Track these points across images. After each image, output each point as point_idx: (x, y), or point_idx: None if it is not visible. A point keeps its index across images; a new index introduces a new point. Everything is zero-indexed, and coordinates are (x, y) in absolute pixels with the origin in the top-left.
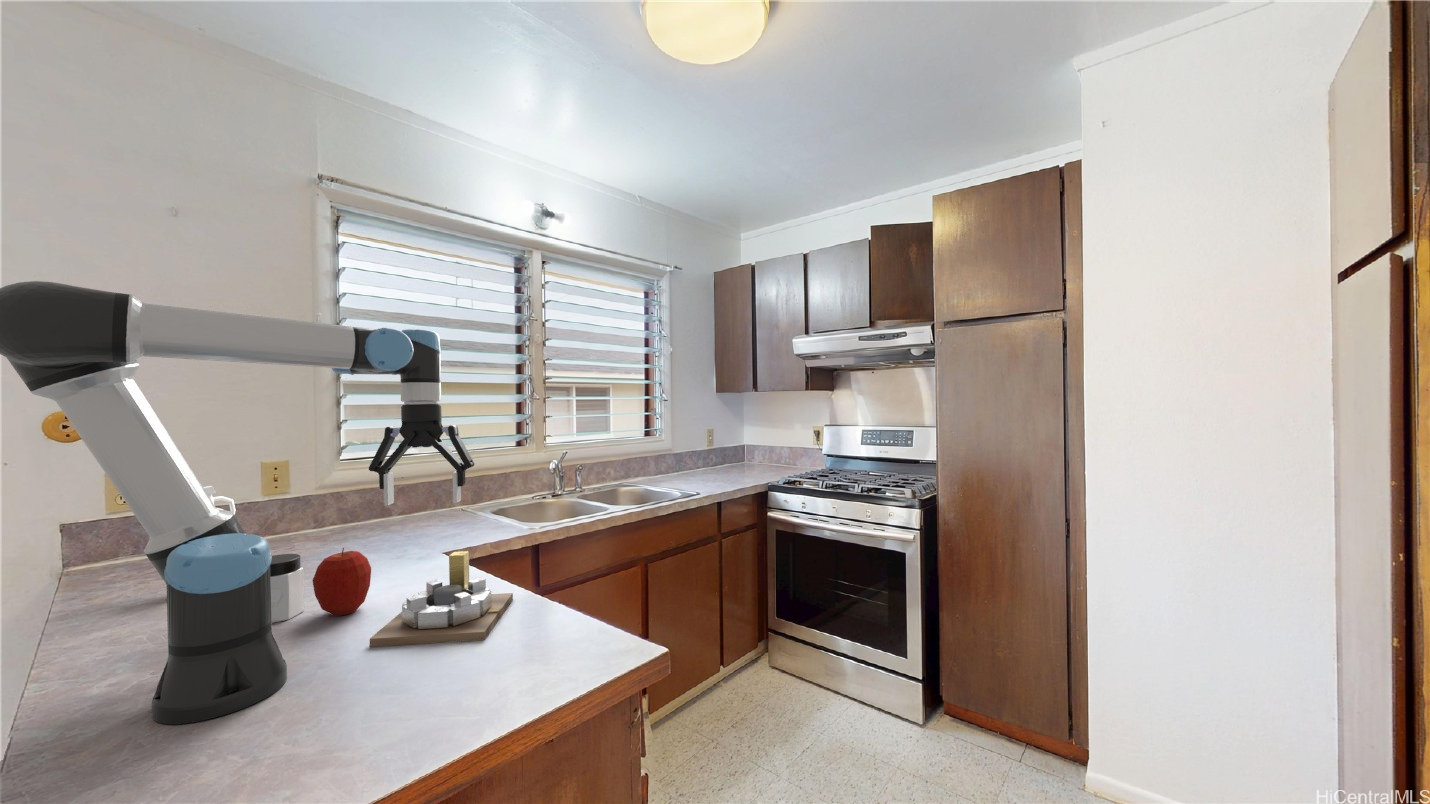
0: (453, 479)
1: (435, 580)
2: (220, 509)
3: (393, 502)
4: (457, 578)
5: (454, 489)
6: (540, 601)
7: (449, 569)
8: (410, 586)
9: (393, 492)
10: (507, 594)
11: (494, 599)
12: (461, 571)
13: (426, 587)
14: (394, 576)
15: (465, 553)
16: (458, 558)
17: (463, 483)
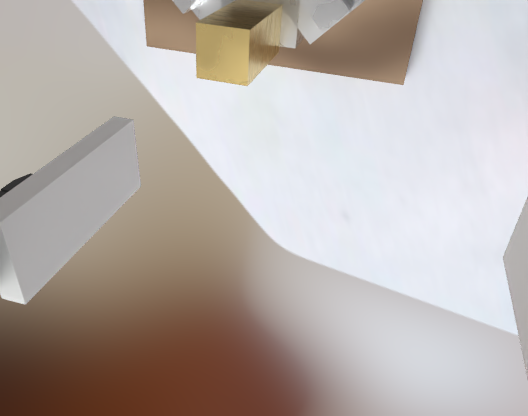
0: (36, 191)
1: (323, 25)
2: None
3: (506, 254)
4: (248, 7)
5: (76, 154)
6: (83, 7)
7: (264, 17)
8: (453, 238)
9: (514, 302)
10: (157, 38)
11: None
12: (227, 11)
13: (351, 7)
14: (511, 328)
15: (197, 45)
16: (219, 22)
17: (13, 185)
